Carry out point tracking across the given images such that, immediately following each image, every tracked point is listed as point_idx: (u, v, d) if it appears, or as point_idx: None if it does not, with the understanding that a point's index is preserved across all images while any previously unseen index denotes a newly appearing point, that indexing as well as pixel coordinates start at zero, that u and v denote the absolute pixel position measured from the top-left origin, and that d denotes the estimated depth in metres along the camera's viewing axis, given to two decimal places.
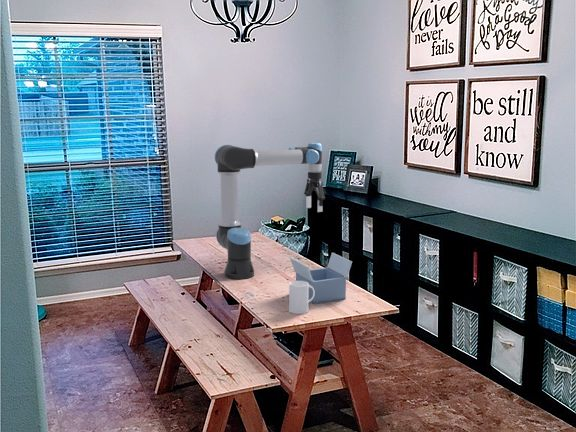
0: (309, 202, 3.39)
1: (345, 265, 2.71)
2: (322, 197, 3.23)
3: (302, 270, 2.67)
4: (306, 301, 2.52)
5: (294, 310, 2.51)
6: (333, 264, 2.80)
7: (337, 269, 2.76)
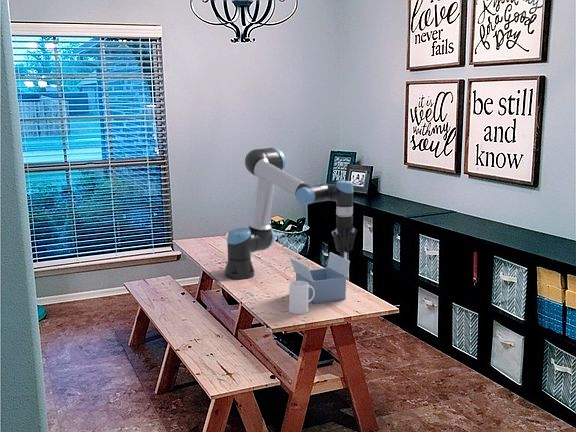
0: None
1: (343, 265, 2.71)
2: (337, 249, 2.75)
3: (302, 270, 2.67)
4: (306, 301, 2.52)
5: (294, 310, 2.51)
6: (332, 264, 2.80)
7: (337, 269, 2.76)
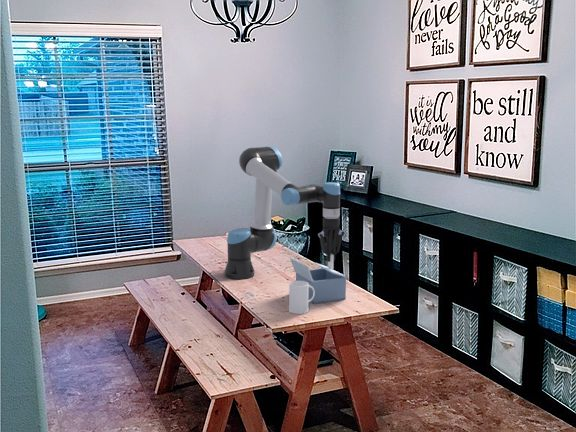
0: None
1: (333, 272, 2.69)
2: (323, 251, 2.72)
3: (302, 270, 2.67)
4: (306, 301, 2.52)
5: (294, 310, 2.51)
6: (326, 268, 2.79)
7: (333, 271, 2.75)
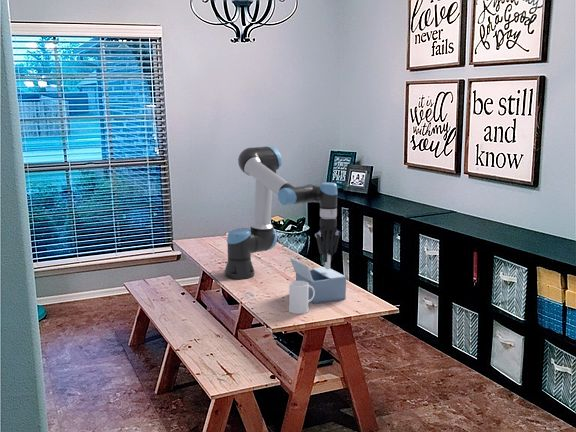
0: None
1: None
2: (320, 252, 2.71)
3: (302, 270, 2.67)
4: (306, 301, 2.52)
5: (294, 310, 2.51)
6: None
7: None
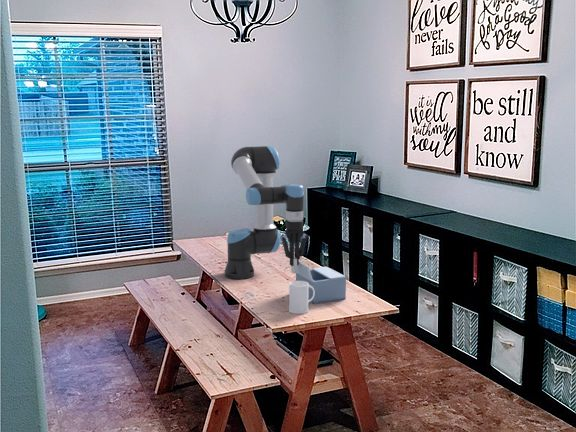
0: None
1: None
2: (286, 255, 2.64)
3: (302, 270, 2.67)
4: (306, 301, 2.52)
5: (294, 310, 2.51)
6: None
7: None
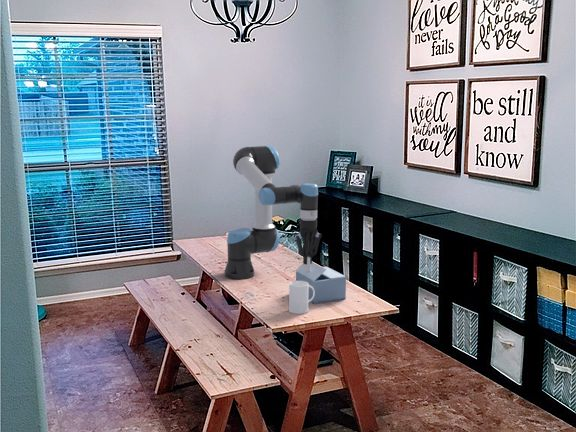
0: None
1: None
2: (300, 254, 2.67)
3: (311, 270, 2.69)
4: (306, 301, 2.52)
5: (294, 310, 2.51)
6: None
7: None
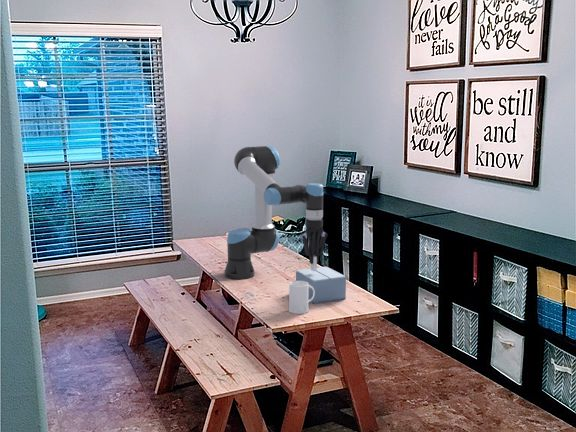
0: None
1: None
2: (306, 253, 2.68)
3: (314, 275, 2.70)
4: (306, 301, 2.52)
5: (294, 310, 2.51)
6: None
7: None
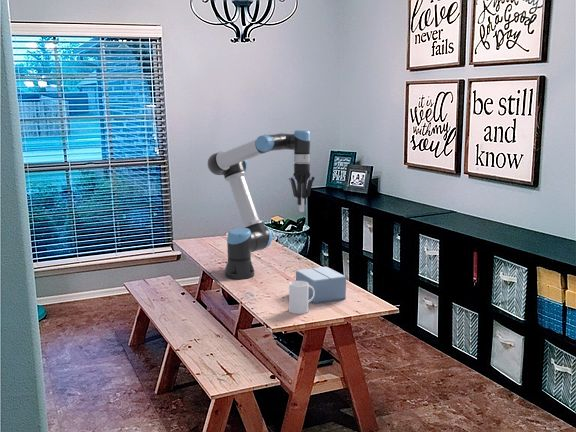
0: None
1: None
2: (294, 195, 2.90)
3: (314, 275, 2.70)
4: (306, 301, 2.52)
5: (294, 310, 2.51)
6: None
7: None
